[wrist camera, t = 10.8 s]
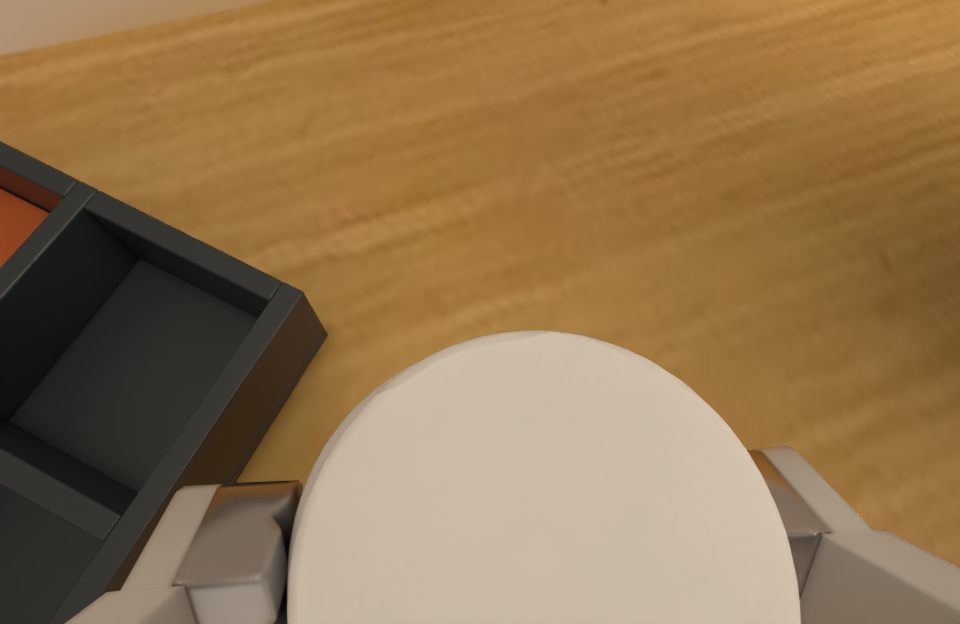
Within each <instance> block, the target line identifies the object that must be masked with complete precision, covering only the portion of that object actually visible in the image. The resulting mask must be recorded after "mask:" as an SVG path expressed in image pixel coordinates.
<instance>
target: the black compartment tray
mask: <svg viewBox="0 0 960 624" xmlns="http://www.w3.org/2000/svg"><path fill="white" fill-rule="evenodd" d="M326 336H327V333H326V331H325V329H324V328H323V326H322V324H321V322H320V321H319V319H318V317H317V315H316V314H315V312H314V310H313V308H312V307H311V305H310V303H309V301H308V300H307V298H306V296H305V294H304V293H303V292H302V291H300V290H298V289H296V288H294V287H292V286H290V285H288V284H286V283H284V282H283V283H282V282H281V281H280V280H278V279H276V278H274V277H272V276H270V275H268V274H266V273H264V272H262V271H260V270H258V269H256V268H254V267H252V266H250V265H248V264H246V263H244V262H242V261H240V260H238V259H236V258H234V257H232V256H230V255H228V254H226V253H224V252H222V251H220V250H218V249H216V248H214V247H212V246H210V245H208V244H206V243H204V242H202V241H200V240H198V239H196V238H194V237H192V236H190V235H188V234H186V233H184V232H182V231H180V230H178V229H176V228H174V227H172V226H170V225H168V224H165V223H163V222H161V221H159V220H157V219H155V218H153V217H151V216H149V215H147V214H145V213H143V212H141V211H139V210H137V209H135V208H133V207H131V206H129V205H127V204H125V203H123V202H121V201H119V200H117V199H115V198H113V197H111V196H109V195H107V194H105V193H103V192H101V191H98V190H97V189H95V188H93V187H91V186H89V185H87V184H85V183H83V182H80V181H79V180H77V179H75V178H73V177H71V176H69V175H67V174H65V173H63V172H61V171H59V170H57V169H55V168H53V167H51V166H49V165H47V164H45V163H43V162H41V161H39V160H37V159H35V158H33V157H31V156H29V155H27V154H25V153H23V152H21V151H19V150H17V149H15V148H13V147H11V146H9V145H7V144H5V143H3V142H1V141H0V624H65V623H66V622H67V621H69V620H70V619H71V618H73V617H74V616H75V615H77V614H78V613H79V612H81V611H82V610H83V609H85V608H86V607H87V606H89V605H90V604H91V603H93V602H94V601H95V600H97V599H98V598H99V597H101V596H102V595H103V594H105V593H106V592H112V591H120V590H121V588H122V586H123V584H124V583H125V581H126V579H127V577H128V576H129V574H130V572H131V570H132V568H133V567H134V565H135V563H136V561H137V560H138V558H139V556H140V554H141V553H142V551H143V549H144V547H145V545H146V544H147V542H148V540H149V538H150V537H151V535H152V533H153V531H154V529H155V528H156V526H157V524H158V522H159V521H160V519H161V517H162V515H163V513H164V512H165V510H166V508H167V506H168V505H169V503H170V501H171V499H172V498H173V496H174V494H175V493H176V492H177V491H178V490H180V489H181V488H183V487H184V486H194V485H216V484H220V485H223V484H224V483H235V481H236V479H237V478H238V476H239V475H240V473H241V472H242V470H243V468H244V467H245V465H246V464H247V462H248V460H249V459H250V457H251V456H252V454H253V452H254V451H255V449H256V448H257V446H258V445H259V443H260V441H261V440H262V438H263V437H264V435H265V433H266V432H267V430H268V429H269V427H270V425H271V424H272V422H273V421H274V419H275V418H276V416H277V414H278V413H279V411H280V410H281V408H282V406H283V405H284V403H285V402H286V400H287V398H288V397H289V395H290V394H291V392H292V391H293V389H294V387H295V386H296V384H297V383H298V381H299V379H300V378H301V376H302V375H303V373H304V371H305V370H306V368H307V367H308V365H309V363H310V362H311V360H312V359H313V357H314V356H315V354H316V352H317V351H318V349H319V348H320V346H321V344H322V343H323V341H324V340H325V338H326Z"/></svg>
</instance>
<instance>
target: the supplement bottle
mask: <svg viewBox="0 0 960 624" xmlns="http://www.w3.org/2000/svg"><path fill="white" fill-rule="evenodd" d="M287 598H288V599H287V623H288V624H801V616H800V600H799V591H798V582H797V577H796V572H795V567H794V563H793V558H792V553H791V549H790V544H789V541H788V537H787V534H786V531H785V528H784V525H783V522H782V520H781V517H780V514H779V512H778V509H777V506H776V504H775V502H774V500H773V497H772V495H771V493H770V491H769V489H768V487H767V484H766V482H765V480H764V478H763V476H762V475H761V473H760V471H759V470H758V468H757V466H756V465H755V463H754V461H753V459H752V458H751V456H750V455H749V453H748V452H747V450H746V449H745V447H744V446H743V444H742V443H741V442H740V440H739V439H738V438H737V436H736V435H735V433H734V432H733V431H732V429H731V428H730V427H729V426H728V425H727V423H726V422H725V421H724V420H723V419H722V418H721V417H720V416H719V414H718V413H717V412H715V411H714V410H713V409H712V408H711V407H710V406H709V405H708V404H707V403H706V402H705V401H704V400H703V399H702V398H701V397H699V396H698V395H697V394H696V393H695V392H694V391H693V390H692V389H691V388H690V387H689V386H688V385H686V384H685V383H684V382H682V381H681V380H679V379H678V378H677V377H675V376H673V375H672V374H670V373H669V372H667V371H666V370H664V369H663V368H661V367H660V366H658V365H656V364H655V363H653V362H652V361H650V360H648V359H646V358H644V357H642V356H640V355H638V354H636V353H634V352H632V351H629V350H627V349H625V348H622V347H619V346H616V345H613V344H610V343H608V342H604V341H601V340H598V339H595V338H592V337H588V336H584V335H578V334H572V333H566V332H556V331H544V330H530V331H514V332H504V333H497V334H490V335H486V336H482V337H478V338H474V339H470V340H467V341H464V342H461V343H458V344H455V345H452V346H450V347H447V348H445V349H443V350H440V351H438V352H436V353H434V354H432V355H429V356H427V357H426V358H424V359H423V360H421V361H419V362H417V363H415V364H413V365H411V366H409V367H407V368H405V369H404V370H402V371H400V372H398V373H397V374H395V375H393V376H392V377H391V378H389V379H388V380H387V381H385V382H384V383H382V384H381V385H380V386H378V387H377V388H375V389H374V390H373V391H372V392H371V393H369V394H368V395H367V396H366V397H365V398H364V399H363V400H362V401H361V402H360V403H359V404H358V405H357V406H356V407H355V408H354V409H353V410H352V411H351V412H350V413H349V414H348V415H347V417H346V418H345V419H344V420H343V421H342V423H341V424H340V425H339V426H338V428H337V429H336V430H335V432H334V433H333V435H332V436H331V437H330V439H329V440H328V442H327V443H326V445H325V447H324V448H323V450H322V452H321V453H320V455H319V457H318V458H317V460H316V462H315V464H314V466H313V469H312V471H311V473H310V475H309V477H308V479H307V482H306V484H305V487H304V490H303V493H302V496H301V498H300V501H299V505H298V508H297V512H296V515H295V520H294V525H293V530H292V535H291V540H290V547H289V556H288V571H287Z"/></svg>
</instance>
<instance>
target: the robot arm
mask: <svg viewBox="0 0 960 624" xmlns="http://www.w3.org/2000/svg"><path fill="white" fill-rule="evenodd" d="M747 452H748V453H749V455H750V456H751V458H752V459H753V461H754V463H755V465H756V466H757V468H758V470H759V471H760V473H761V475H762V476H763V478H764V480H765V482H766V484H767V487H768V489H769V491H770V493H771V495H772V497H773V500H774V502H775V504H776V506H777V509H778V512H779V514H780V517H781V520H782V522H783V525H784V528H785V531H786V534H787V537H788V541H789V544H790V549H791V553H792V558H793V563H794V567H795V572H796V577H797V582H798V591H799V600H800V616H801V624H960V567H958V566H956V565H954V564H952V563H950V562H948V561H946V560H944V559H942V558H940V557H938V556H936V555H934V554H932V553H930V552H928V551H926V550H924V549H922V548H920V547H918V546H916V545H914V544H912V543H910V542H908V541H906V540H904V539H902V538H900V537H898V536H896V535H894V534H892V533H890V532H888V531H886V530H872V529H871V528H870V527H869V526H868V525H867V524H866V522H865V521H864V520H863V519H862V518H861V517H860V516H859V515H858V514H857V513H856V512H855V511H854V510H853V509H852V508H851V507H850V506H849V505H848V503H847V502H846V501H845V500H844V499H843V498H842V497H841V496H840V495H839V494H838V493H837V492H836V491H835V490H834V489H833V488H832V487H831V486H830V485H829V483H828V482H827V481H826V480H825V479H824V478H823V477H822V476H821V475H820V474H819V473H818V472H817V471H816V470H815V469H814V468H813V467H812V466H811V465H810V463H809V462H808V461H807V460H806V459H805V458H804V457H803V456H802V455H801V454H800V453H799V452H798V451H797V450H795V449H793V448H791V447H789V446H781V447H770V448H758V449H753V450H747ZM302 493H303V485H302V483H301V482H299V481H298V480H292V481H269V482H246V483H224V484H223V485H220V484H216V485H194V486H184V487H183V488H181V489H180V490H178V491H177V492H176V493H175V494H174V496H173V498H172V499H171V501H170V503H169V505H168V506H167V508H166V510H165V512H164V513H163V515H162V517H161V519H160V521H159V522H158V524H157V526H156V528H155V529H154V531H153V533H152V535H151V537H150V538H149V540H148V542H147V544H146V545H145V547H144V549H143V551H142V553H141V554H140V556H139V558H138V560H137V561H136V563H135V565H134V567H133V568H132V570H131V572H130V574H129V576H128V577H127V579H126V581H125V583H124V584H123V586H122V588H121V590H120V591H112V592H106V593H105V594H103V595H102V596H101V597H99V598H98V599H97V600H95V601H94V602H93V603H91V604H90V605H89V606H87V607H86V608H85V609H83V610H82V611H81V612H79V613H78V614H77V615H75V616H74V617H73V618H71V619H70V620H69V621H67V622H66V623H65V624H288V623H287V599H288V598H287V571H288V556H289V547H290V540H291V535H292V530H293V525H294V520H295V515H296V512H297V508H298V505H299V501H300V498H301V496H302Z"/></svg>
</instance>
